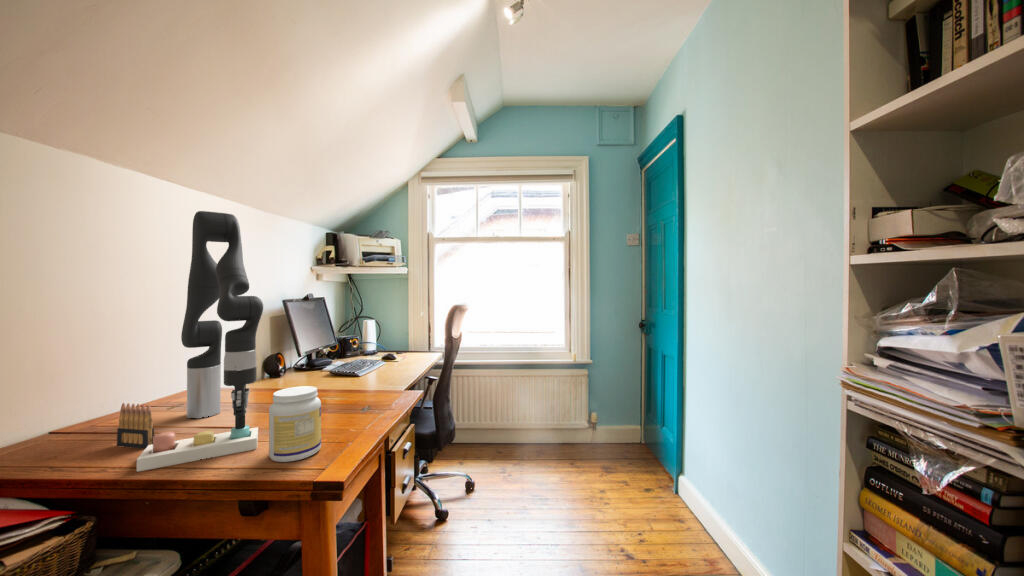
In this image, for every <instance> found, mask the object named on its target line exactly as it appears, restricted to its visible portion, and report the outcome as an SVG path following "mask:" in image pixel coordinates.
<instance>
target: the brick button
mask: <svg viewBox="0 0 1024 576" xmlns="http://www.w3.org/2000/svg"><path fill="white" fill-rule="evenodd" d="M175 441H176V432H175V431H165V432H161V433H158V434H154V436H153V453H158V452H163V451H169V450H175Z"/></svg>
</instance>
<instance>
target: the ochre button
mask: <svg viewBox="0 0 1024 576" xmlns="http://www.w3.org/2000/svg"><path fill="white" fill-rule="evenodd" d="M214 432H215V431H213V430H205V431H200V432H197V433H195V434H193V438H194V446H198V445H204V444H210V443H214V434H215V433H214Z"/></svg>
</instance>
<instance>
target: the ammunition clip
mask: <svg viewBox="0 0 1024 576" xmlns="http://www.w3.org/2000/svg"><path fill="white" fill-rule="evenodd" d="M119 410H120V411H119V419H118V427H117V431H116V433H117V434H116V447H119V446H124V447H123V448H130V447H131V448H132V449H134V448H135V449H141V448H143V450H145V449H146V448H147V446H148V445H152V444H153V436H155V428H154V427H153V417H152V415H153V414H152V407H151V406H150V404H147V406H146V405H145V404H142V405H140V403H137V404H136V405H135V403H132V405H130V403H129V402H128V403H127V404H125V402H122V404H121V407H120V409H119Z"/></svg>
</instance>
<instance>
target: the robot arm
mask: <svg viewBox="0 0 1024 576" xmlns="http://www.w3.org/2000/svg"><path fill="white" fill-rule="evenodd" d="M191 231H192V232H191V233H192V239H191V245H192V246H191V260H190V267H189V273H188V281H187V294H186V295H187V296H186V306H185V307H186V308H185V314H184V317H183V322H182V323H183V324H182V328H181V336H180V337H181V343H182V345H183V347H185V348H188V349H189V348H190V349H191V348H192V349H195V348H205V347H208V349H206V351H204V352H203V353H201V354H198V355H196V356H193V357H191V358H189V359H187V361H186V419H190V418H196V419H203V418H202V417H204V418H208V416H209V417H213V416H216V415H219V414H221V403H222V402H221V398H222V397H221V394H222V393H221V391H222V389H221V382H222V381H221V380H222V379H221V376H222V375H221V372H222V371H221V369H222V368H221V366H222V362H221V360H222V358H221V357H222V341H223V340H222V339H223V327H222V326H223V325H222V323H221V322H220V321H219V320H217V319H215V320H214V319H213V320H200V318H202V317H201V316H203V314H205V312H206V311H207V310H208V309H209V308H210V307H212V306H213V305H214V304H215V303H216V302H217V301H218V303H217V306H216V314H217V316H218V317H219V319H221V320H222V321H225V322H241V321H245V322H244V324H243V325H242V326H241V327H238V328H234V329H231V330H228V331H227V332H226V333H225V337H224V358H223V386H226V387H234V389H232V391H231V392H230V398H231V400H232V401H231V402H232V405H231V406H232V407H231V408H232V409H233V416H234V418H235V419H234V421H235V423H234V424H235V425H234V427H235V429H241V428H244V427H245V425H246V414H247V409H248V404H249V394H250V387H247V385H251V384H254V383H255V382H257V380H258V378H257V368H258V367H257V365H258V364H257V360H258V359H257V352H256V351H257V350H256V344H257V343H256V342H257V339H256V336H257V331H258V327H259V325H260V321H261V318H262V315H263V311H264V304H263V301H262V299H260V297H258V296H255V295H245V293H247V292H248V291H249V289H250V282H249V279H248V276H247V273H246V269H245V264H244V258H243V257H244V256H243V246H242V245H243V243H242V236H241V235H242V234H241V227H240V223H239V220H238V218H237V217H236V216H235V214H231V213H226V212H217V211H205V210H199V211H196V212H195V214H194V215H193V220H192V230H191ZM208 242H209V243H213V242H214V243H227V244H228V247H227V249H226V251H225V252H224V254H222V256H221V258H220V259H219V260H218V261H217V262H216V261H215V260H214V258H213V257H212V255H211V254H210V252H209V250H208V248H207V244H208Z"/></svg>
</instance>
